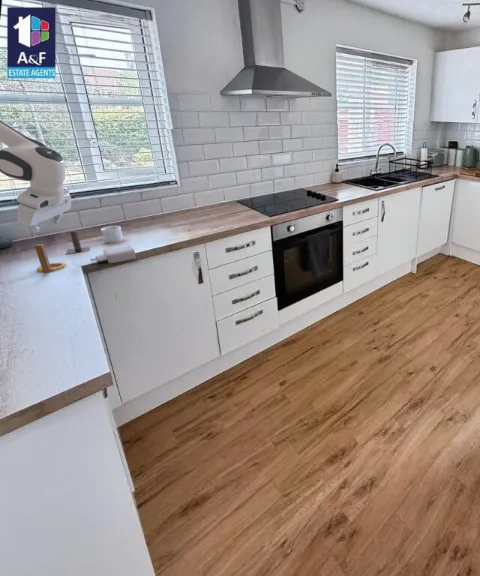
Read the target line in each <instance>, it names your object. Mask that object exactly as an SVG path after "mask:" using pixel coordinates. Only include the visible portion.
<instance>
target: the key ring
mask: <svg viewBox="0 0 480 576" xmlns="http://www.w3.org/2000/svg"><path fill="white" fill-rule="evenodd" d="M34 248H35V250H36V251H35V252H36V254H37V259H38V260H39V264H40V265H39V266H37V267H36V271H37V272H40V273H43V274H50V273H53V272H56V271H60V270H62V269H65V268H66V267H67V263H65V262H50V260H49V257H48V254H47V251H46V248H45V244H44V243H37V244H35V245H34Z"/></svg>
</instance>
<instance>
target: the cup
mask: <svg viewBox="0 0 480 576" xmlns="http://www.w3.org/2000/svg"><path fill="white" fill-rule="evenodd" d="M100 231H101V234H102V236H103V238H104V241H105V243H109V244H110V243H111V244H113V243H118V242H121V241H123V240H124V237H123V232H122V227H121V226H120V225H109V226H108V225H107V226H104V227H101V228H100Z"/></svg>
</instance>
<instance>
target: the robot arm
mask: <svg viewBox="0 0 480 576" xmlns="http://www.w3.org/2000/svg"><path fill="white" fill-rule="evenodd" d="M0 143H1V144H3V145H5V146H6V147H4V148H2V149H0V173H1V174H3V175H4V176H6V177H7V178H8V177H9V178H11V179H15V180H18V181H19V180H20V181H24V182H29V185H30V186H29V187H28V188H27V189H25V190H24V191H23V192H22V193H21V194H19V195H18V196H17V202H19V204H18V205H17V212H16V213H17V222H18V223H19V224H21V225H24V226H26V227H29V228H30V231H31V232H32V233H34V234H37V233H39V232H40V231H41V227H39V224H41V223H42V222H45V221H48V220H50V219H51V222H52V223H53V224H58V223H60V219H61V218H62V216H63V214H64V213H65V212H68V211H69V210H71V208H72V197H71V195H70V189H69V188H67V187H65V185H64V181H65V180H66V163H65V160H64V157H63V155H62V154H61V153H59V152H58V151H57V150H54V149H52V148H49V147H48V146H47V145H45V144H44V143H42V142H41V141H38V140H35V139H33V138H31V137H29V136H26V135H24V134H23V133H22V132H20V131H18V130H16V129H15V128H13V127H12V126H10V125H9V124H7V123H6V122H4V121H2V120H0Z"/></svg>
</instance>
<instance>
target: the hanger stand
mask: <svg viewBox="0 0 480 576" xmlns="http://www.w3.org/2000/svg"><path fill="white" fill-rule="evenodd" d="M77 231H78V230H77V229H72V230H69V231H68V232H69V235H70V239H71V242H72V245H73V248H67V250H66V253H65V256H67V255H75V254H81V253H87V252H88V253H89V252H90V250H91V246H86V247H85V246H84V247H82V245H81V242H80V239H79V235H78V232H77Z"/></svg>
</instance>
